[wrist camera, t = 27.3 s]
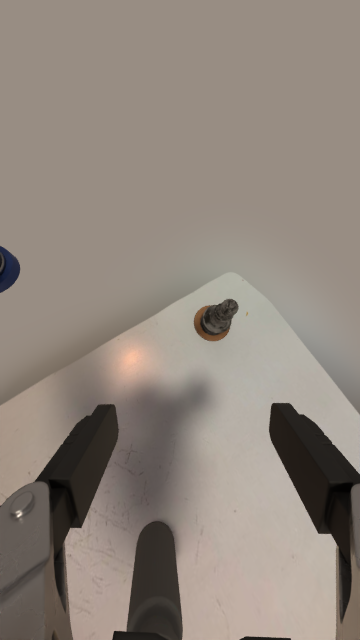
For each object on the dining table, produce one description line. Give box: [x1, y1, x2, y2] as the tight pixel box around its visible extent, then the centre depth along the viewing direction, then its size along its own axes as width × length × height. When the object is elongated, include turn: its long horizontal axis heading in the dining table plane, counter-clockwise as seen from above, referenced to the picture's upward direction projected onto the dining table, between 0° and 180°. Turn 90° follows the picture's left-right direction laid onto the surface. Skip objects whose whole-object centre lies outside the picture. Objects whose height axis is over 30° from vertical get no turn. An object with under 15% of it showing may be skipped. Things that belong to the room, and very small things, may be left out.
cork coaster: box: [194, 306, 230, 341], centre depth 40 cm, size 8×8×1 cm
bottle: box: [127, 522, 183, 640], centre depth 22 cm, size 6×6×15 cm
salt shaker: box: [200, 299, 238, 335], centre depth 34 cm, size 6×6×12 cm
